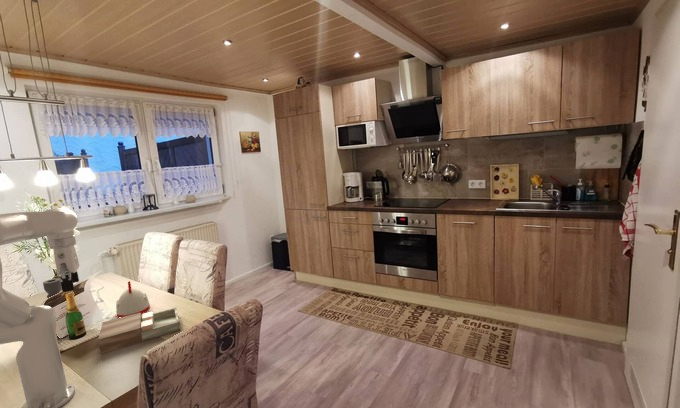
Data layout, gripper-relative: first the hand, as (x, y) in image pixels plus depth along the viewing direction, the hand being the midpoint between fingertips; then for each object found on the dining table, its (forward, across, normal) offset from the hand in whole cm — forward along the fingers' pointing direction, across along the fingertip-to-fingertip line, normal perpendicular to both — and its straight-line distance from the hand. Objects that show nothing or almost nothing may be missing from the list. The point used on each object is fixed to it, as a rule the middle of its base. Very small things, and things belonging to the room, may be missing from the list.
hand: (71, 286), depth 120 cm
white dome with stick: (+29, +33, -15) cm, 46 cm away
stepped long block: (+28, +6, -19) cm, 35 cm away
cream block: (+25, +10, -20) cm, 33 cm away
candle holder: (+28, +26, +11) cm, 40 cm away
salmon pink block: (+25, +2, -19) cm, 32 cm away
